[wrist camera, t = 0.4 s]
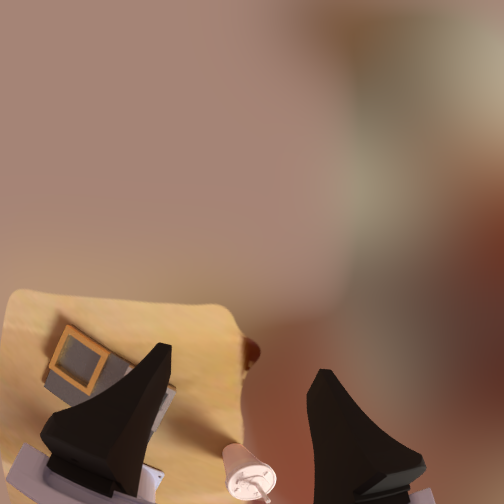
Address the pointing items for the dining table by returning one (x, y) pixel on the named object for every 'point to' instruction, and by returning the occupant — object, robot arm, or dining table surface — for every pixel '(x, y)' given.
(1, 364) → the dining table surface
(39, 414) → the dining table surface
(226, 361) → the dining table surface
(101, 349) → the panel
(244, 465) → the smoothie
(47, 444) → the robot arm
